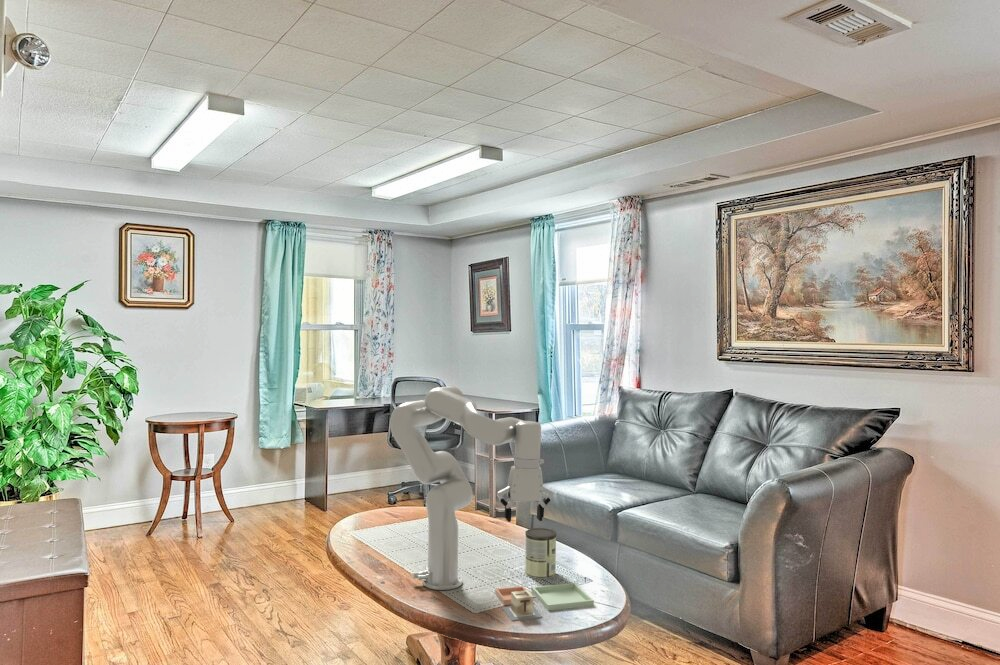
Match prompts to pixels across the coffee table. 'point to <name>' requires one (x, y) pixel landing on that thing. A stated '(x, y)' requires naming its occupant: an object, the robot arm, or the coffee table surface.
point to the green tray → (562, 596)
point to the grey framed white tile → (523, 617)
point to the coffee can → (540, 553)
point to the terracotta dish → (507, 594)
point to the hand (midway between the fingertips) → (523, 520)
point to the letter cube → (522, 603)
